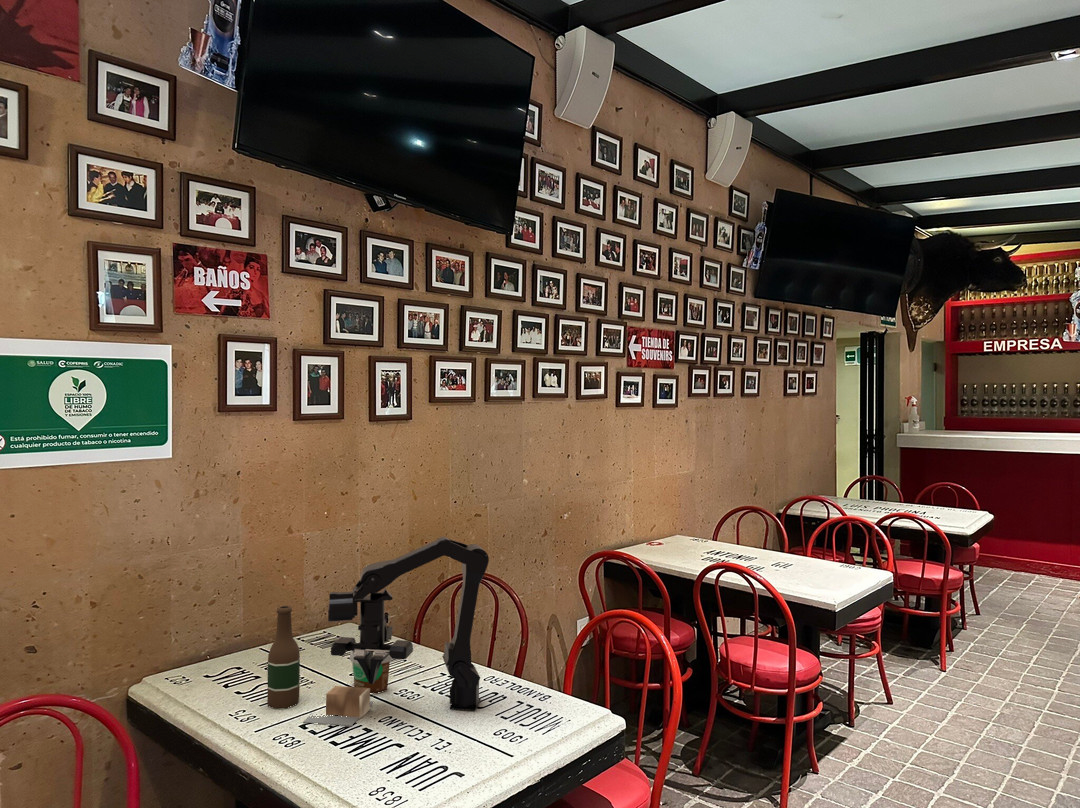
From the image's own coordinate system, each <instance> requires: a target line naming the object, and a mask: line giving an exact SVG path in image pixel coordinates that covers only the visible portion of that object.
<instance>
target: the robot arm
mask: <svg viewBox="0 0 1080 808" xmlns="http://www.w3.org/2000/svg"><path fill="white" fill-rule="evenodd" d="M444 556H445V557H447V558H450V559H452V560H455V561H456V562H459V563H461V572H462V585H461V590H460V591H461V592H460V597H459V604H458V608H457V614H456V622H455V627H454V633H453V634H454V635H453V637H452V639H451V640H450V642H449V641H444V642H445V643H444V651H443V655H442V657H441V658H442V660H443V662H444V665H445V668H446V669H447V672H448V675H449V676H450V677H451V678H452V682H451V685H450V687H449V704H450V706H449V710H456V711H457V710H459V711H473V712H475V711H476V710H477V709H478V707H479V705H480V703H481V702H482V700H481V698H480V680H481V677H480V674H479V672H478V670H477V668H476V667H475V664H473V663H472V649H471V636H472V631H473V626H474V625H473V624H474V619H475V618H474V617H475V613H476V607H477V601H478V595H479V589H480V584H481V582H482V580H483V578H484V576H485V574H486V571H487V568H488V565H489V561H490V557H489V554H488V553H487V552H486V550H485V549H484V548H482V547H481V546H480V545H479V544H476V543H472V544H465V543H463V542H460V541H457V540H453V539H450V538H448V537H446V536H440V537H438V538H437V539H436V540H434V541H431V542H429V543H427V544H424V545H422V546H420V547H418V548H416V549H413V550H411V551H410V552H407V553H405V554H402V555H400V556H398V557H396V558H393V559H390V560H381V561H377V562H374V563H370V564H367V565H366V566H364V567H363V568H362V570H361V573H360V577H359V580H358V581H357V582H356V584H355V586H353V588H352V591H340V592H339V591H330V592H329V597H328V598H329V602H328V616H327V617H328V619H327V620H328V621H327V622H328V623H333V622H334V623H335V622H347V621H353V619H355V618H356V616H358V603H360V605H359V606H360V607H359V625H358V626H357V630H358V631H359V641H358V642H356V639H355V637H346V636H345V637H344V636H341V637H339V638H338V639H336V641H334V642H333V643H332V644H331V646H330V656H336V657H337V656H338V657H343V656H344V655H345V654H346V653H347V651H350V652H351V651H355V657H354V660H357V661H358V663H359V664H360V666H361V668H362V669H363V671H364V673H365V675H366V677H367V680H368V682H369V684H374V682H375V679H376V676H377V673H378V670H379V667H380V665H381V663H382V661H383V660H385V659H386V658H387V657H388V656H389V655H390V657H391V658H392V660H406V659H408V657H410V656H411V654H412V653H414V651H413V650H414V645H413V643H412V641H411V640H407V639H406V640H403V639H397V640H395V642H393V643H392V644H391V643H389V644H388V643H387V642H389V641H392V637H393V627H394V626H390V625H387V620H386V619H385V609H386V608H385V606H386V605H385V601H392V600H393V599H394V598H393V594H392V593H390V591H388V589H387V588H386V587H388V586H389V585H391V584H392V583H393V582H394V581H395V580H397V579H398V578H399V577H401V576H402V575H404V574H407V573H409V572H411V571H414V570H415V569H417V568H420V567H422V566H424V565H427V564H428V563H430V562H434V561H435V560H437V559H439V558H441V557H444ZM373 652H374V656H373Z"/></svg>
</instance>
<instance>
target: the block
mask: <svg viewBox="0 0 1080 808" xmlns="http://www.w3.org/2000/svg"><path fill="white" fill-rule="evenodd" d="M325 696H326V698H325V701H326V715H338V716H349V717H360V718H363V717H364V716H365V715H366V714H367V713H368V712H369V710H370V709H371V706H370V701H371V694H370V688H358V687H354V686H342V685H341V686H339V685H335V686H334V687H332V688H331V689H330V690H329V691H328V692H326V694H325Z"/></svg>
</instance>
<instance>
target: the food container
mask: <svg viewBox="0 0 1080 808" xmlns="http://www.w3.org/2000/svg"><path fill="white" fill-rule="evenodd" d="M349 655H350V656H349V661H350V662H352V674H353V687H358V688H370V693H376V694H379V693H378V692H381V693H383V692H382V691H384V692H385V690H386V691H388V687H389V686H388V685H389V674H390V665H391V663H390V662H391V661H393V659H392V658H391V657H390V655H389V656H388V657H387V658H386V659H385V660H383V661H382V663H381V665H380V667H379V670H378V673H377V676H376V679H375V682H374V684H369V682H368V680H367V677H366V675H365V673H364V671H363V669H362V668H361V666H360V664H359V663H358V661H357V660H354V657H355V651H350V654H349ZM373 656H374V652H373Z"/></svg>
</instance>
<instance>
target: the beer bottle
mask: <svg viewBox="0 0 1080 808" xmlns="http://www.w3.org/2000/svg"><path fill="white" fill-rule="evenodd" d="M292 611H293V609H292V606H289V605H281V606H278V607H277V609H276V613H277V617H276V619H277V620H276V621H277V622H276V635H275V639H274V641H273V643H272V644H271V647H270V650H269V653H268V656H267V657H268V658H267V692H266V695H267V698H266V699H267V706H268V707H269V706H270V707H269V708H271V707H273V708H272V709H274V708H285V709H289V708H291V707H290V706H292V707H294V706H296V705H295V704H297V705H298V703H299V700H300V681H301V680H300V679H301V677H300V676H301V675H300V674H301V673H300V671H301V670H300V669H301V664H300V661H301V659H300V657H301V656H300V653H301V652H300V648H299V645H298V642H296V640H295V638H294V635H293V625H292V624H293V623H292ZM293 705H294V706H293ZM288 707H289V708H288Z"/></svg>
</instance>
